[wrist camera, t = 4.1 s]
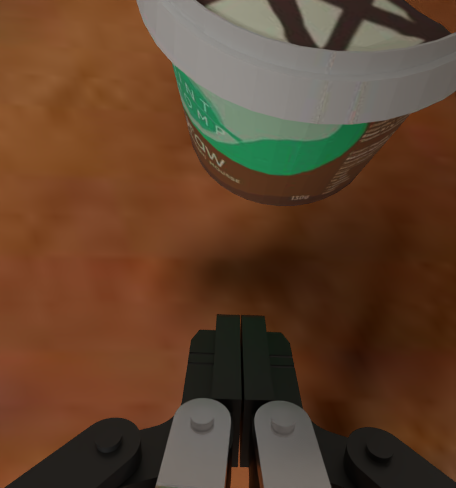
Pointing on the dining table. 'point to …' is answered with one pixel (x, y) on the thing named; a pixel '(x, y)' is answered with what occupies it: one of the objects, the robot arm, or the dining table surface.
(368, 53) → the food container
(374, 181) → the dining table surface
